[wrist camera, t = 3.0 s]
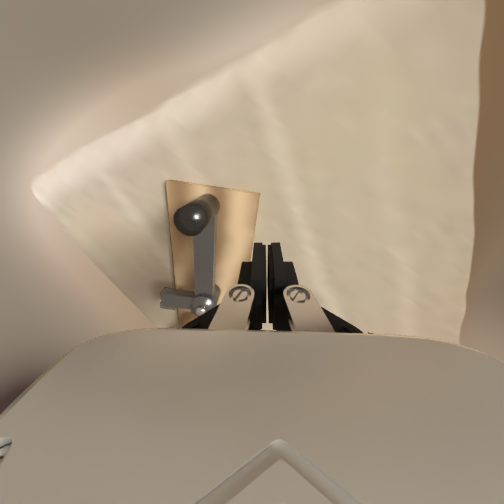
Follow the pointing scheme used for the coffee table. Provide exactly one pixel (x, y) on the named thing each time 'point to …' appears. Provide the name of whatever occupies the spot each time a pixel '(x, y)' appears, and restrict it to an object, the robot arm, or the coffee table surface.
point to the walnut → (188, 318)
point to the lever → (197, 256)
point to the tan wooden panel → (228, 234)
